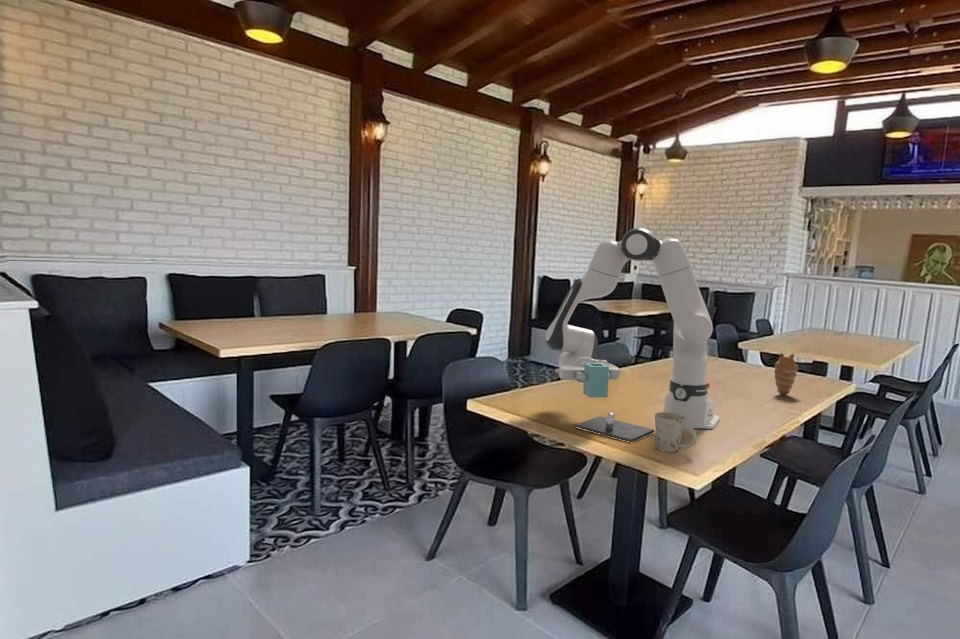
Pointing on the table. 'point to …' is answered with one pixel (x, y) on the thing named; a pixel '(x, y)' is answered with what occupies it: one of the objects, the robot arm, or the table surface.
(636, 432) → the plate
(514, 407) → the table surface
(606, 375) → the sleeve
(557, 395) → the table surface
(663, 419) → the mug
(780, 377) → the cat ice cream
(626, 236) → the robot arm
